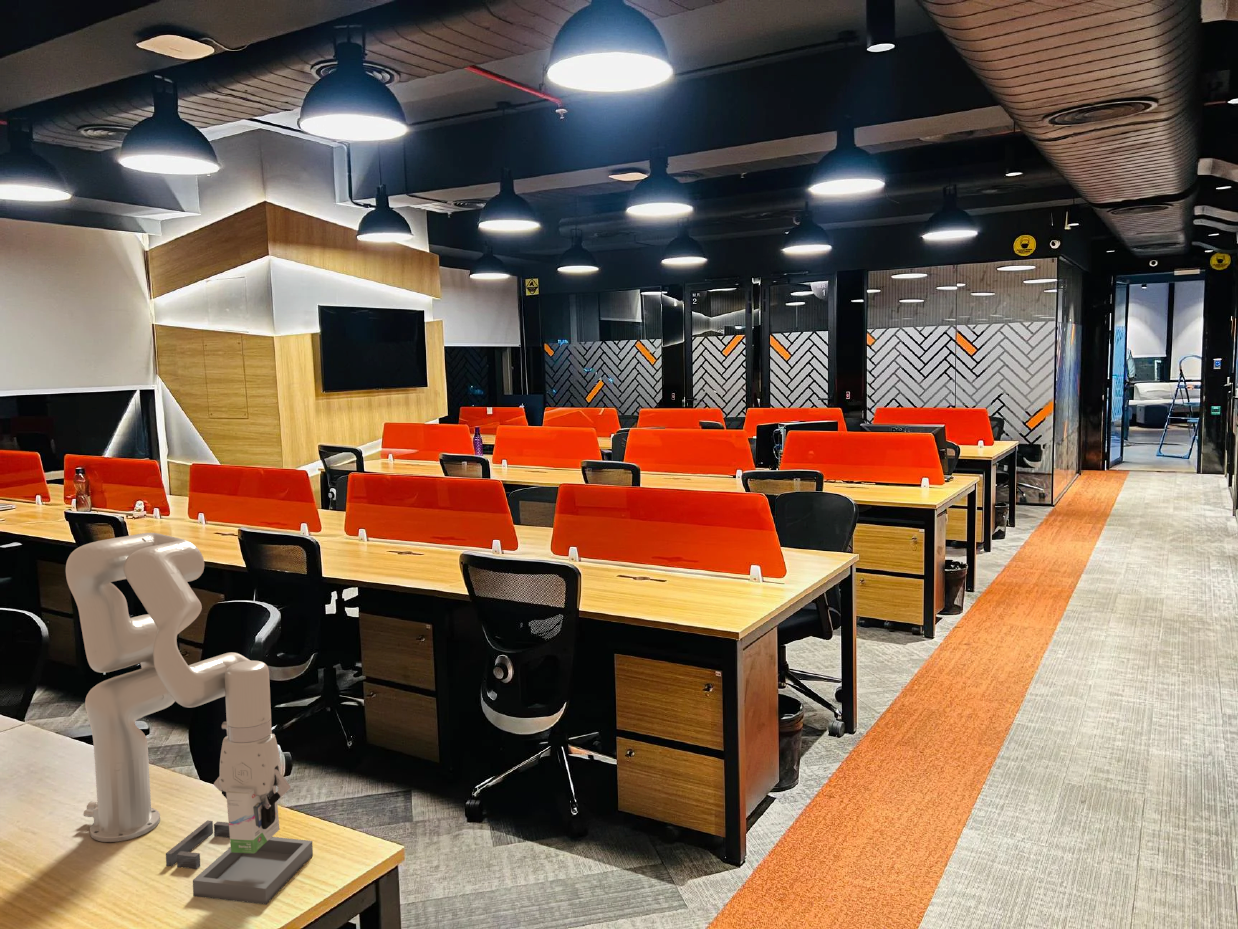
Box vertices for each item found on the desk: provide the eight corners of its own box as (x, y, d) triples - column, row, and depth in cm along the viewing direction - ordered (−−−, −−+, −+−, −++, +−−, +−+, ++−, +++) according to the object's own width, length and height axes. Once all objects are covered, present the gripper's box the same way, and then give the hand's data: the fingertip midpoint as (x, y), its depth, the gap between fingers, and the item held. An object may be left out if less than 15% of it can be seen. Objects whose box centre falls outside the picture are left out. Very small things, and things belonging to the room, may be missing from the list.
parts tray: (193, 896, 160) (192, 880, 160) (246, 848, 176) (245, 834, 176) (266, 904, 158) (265, 888, 157) (312, 855, 174) (312, 841, 173)
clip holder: (166, 866, 170) (165, 853, 170) (207, 832, 182) (207, 820, 182) (196, 869, 169) (195, 856, 168) (235, 835, 181) (235, 823, 181)
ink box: (256, 829, 171) (250, 770, 170) (281, 830, 170) (275, 770, 169) (229, 853, 162) (222, 791, 161) (255, 854, 161) (248, 792, 160)
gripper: (194, 734, 162) (199, 830, 164) (281, 741, 159) (285, 839, 161) (219, 718, 169) (224, 810, 171) (303, 725, 166) (306, 818, 168)
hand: (253, 823), depth 166 cm, fingers closed on ink box, 5 cm apart
